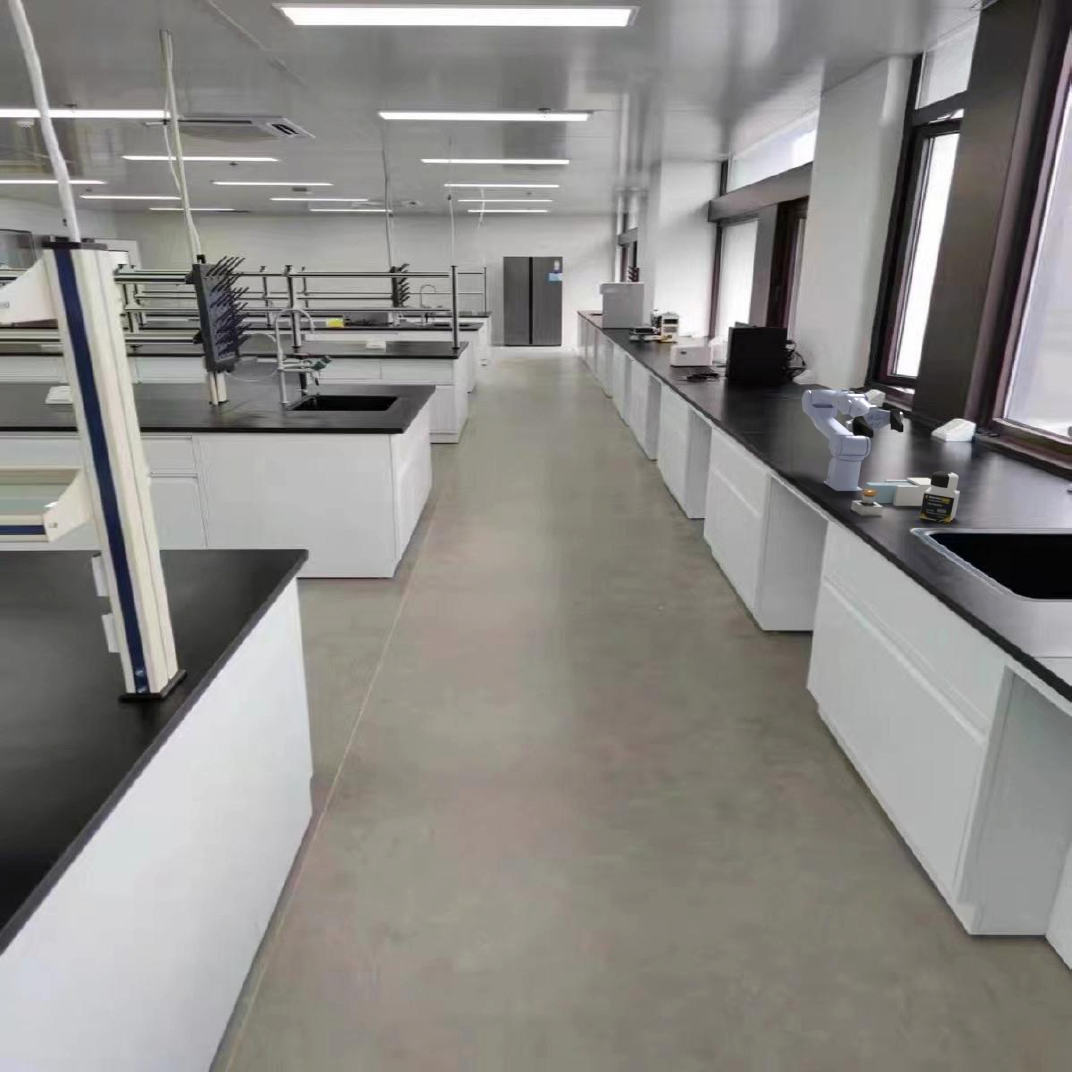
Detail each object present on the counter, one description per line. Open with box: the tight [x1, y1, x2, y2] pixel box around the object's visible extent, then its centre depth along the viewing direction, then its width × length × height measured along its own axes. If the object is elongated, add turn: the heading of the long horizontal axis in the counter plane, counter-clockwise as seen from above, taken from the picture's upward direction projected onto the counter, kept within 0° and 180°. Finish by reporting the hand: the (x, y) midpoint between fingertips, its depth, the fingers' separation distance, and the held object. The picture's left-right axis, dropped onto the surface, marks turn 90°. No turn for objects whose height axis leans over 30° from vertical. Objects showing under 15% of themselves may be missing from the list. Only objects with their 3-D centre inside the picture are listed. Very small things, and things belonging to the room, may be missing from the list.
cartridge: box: [864, 482, 918, 504], centre depth 210 cm, size 4×17×5 cm, turn 93°
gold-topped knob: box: [860, 488, 877, 506], centre depth 199 cm, size 4×4×4 cm
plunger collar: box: [850, 500, 884, 516], centre depth 200 cm, size 6×6×2 cm
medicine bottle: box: [919, 470, 961, 523], centre depth 196 cm, size 7×7×12 cm
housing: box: [884, 477, 931, 507], centre depth 210 cm, size 7×12×6 cm, turn 93°
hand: (887, 431), depth 198 cm, fingers open, 7 cm apart
